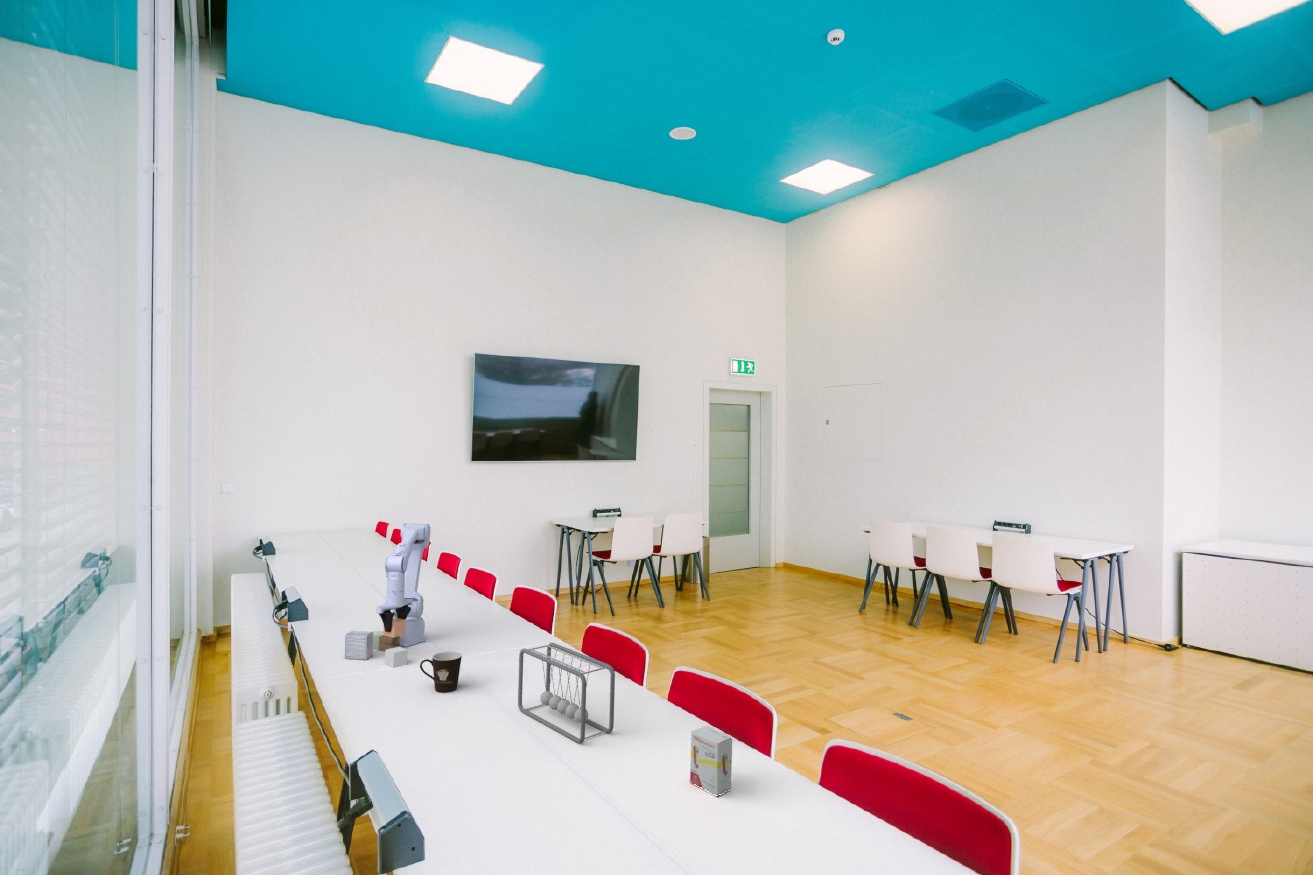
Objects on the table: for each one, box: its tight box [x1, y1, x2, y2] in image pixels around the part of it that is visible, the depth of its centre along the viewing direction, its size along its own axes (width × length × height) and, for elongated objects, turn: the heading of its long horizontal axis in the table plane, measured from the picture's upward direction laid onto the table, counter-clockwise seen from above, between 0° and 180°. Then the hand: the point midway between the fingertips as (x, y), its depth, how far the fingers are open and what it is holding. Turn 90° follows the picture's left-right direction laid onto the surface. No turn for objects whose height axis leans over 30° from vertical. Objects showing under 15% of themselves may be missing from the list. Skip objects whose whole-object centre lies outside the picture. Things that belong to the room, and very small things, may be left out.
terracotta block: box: [383, 617, 406, 637], centre depth 235 cm, size 5×5×5 cm
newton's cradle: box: [517, 642, 616, 744], centre depth 184 cm, size 30×10×18 cm, turn 44°
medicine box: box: [344, 630, 374, 661], centre depth 233 cm, size 8×4×9 cm, turn 84°
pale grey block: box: [384, 646, 409, 669], centre depth 227 cm, size 5×5×5 cm
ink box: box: [689, 725, 733, 795], centre depth 151 cm, size 9×5×12 cm, turn 42°
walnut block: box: [378, 635, 401, 653], centre depth 243 cm, size 5×5×5 cm
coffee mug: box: [419, 651, 463, 694], centre depth 206 cm, size 12×9×10 cm
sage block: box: [372, 630, 384, 650], centre depth 246 cm, size 5×5×5 cm
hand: (394, 629), depth 235 cm, fingers closed on terracotta block, 5 cm apart
